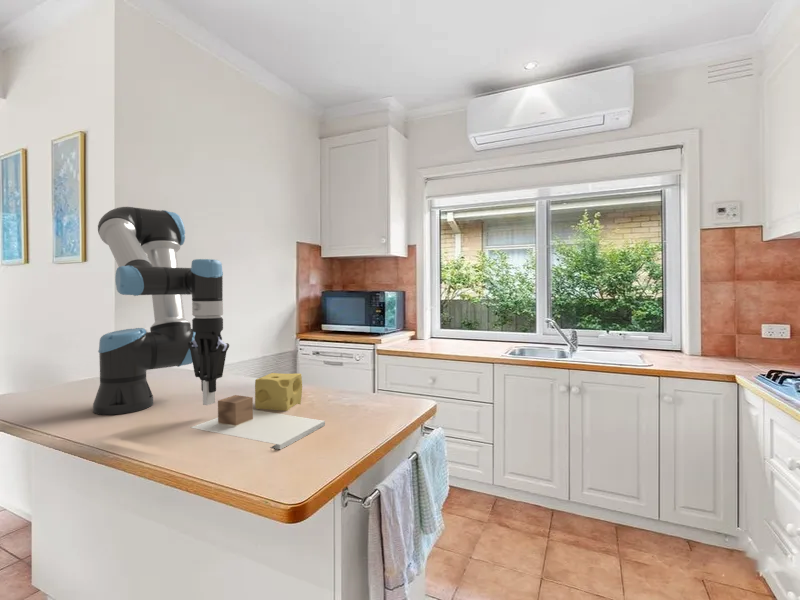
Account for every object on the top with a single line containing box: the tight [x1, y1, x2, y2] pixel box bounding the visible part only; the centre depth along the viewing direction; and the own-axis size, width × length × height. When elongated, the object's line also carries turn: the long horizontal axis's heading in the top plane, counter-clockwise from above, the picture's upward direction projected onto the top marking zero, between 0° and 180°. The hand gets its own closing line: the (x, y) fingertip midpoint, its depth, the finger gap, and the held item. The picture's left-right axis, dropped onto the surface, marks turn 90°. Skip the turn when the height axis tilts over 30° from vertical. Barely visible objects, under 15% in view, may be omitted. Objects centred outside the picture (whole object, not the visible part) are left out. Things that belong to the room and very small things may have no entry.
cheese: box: [254, 372, 303, 412], centre depth 125 cm, size 10×11×10 cm
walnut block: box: [217, 394, 254, 427], centre depth 109 cm, size 6×6×6 cm
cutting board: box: [190, 409, 326, 450], centre depth 107 cm, size 28×18×1 cm, turn 67°
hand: (209, 403), depth 113 cm, fingers closed
